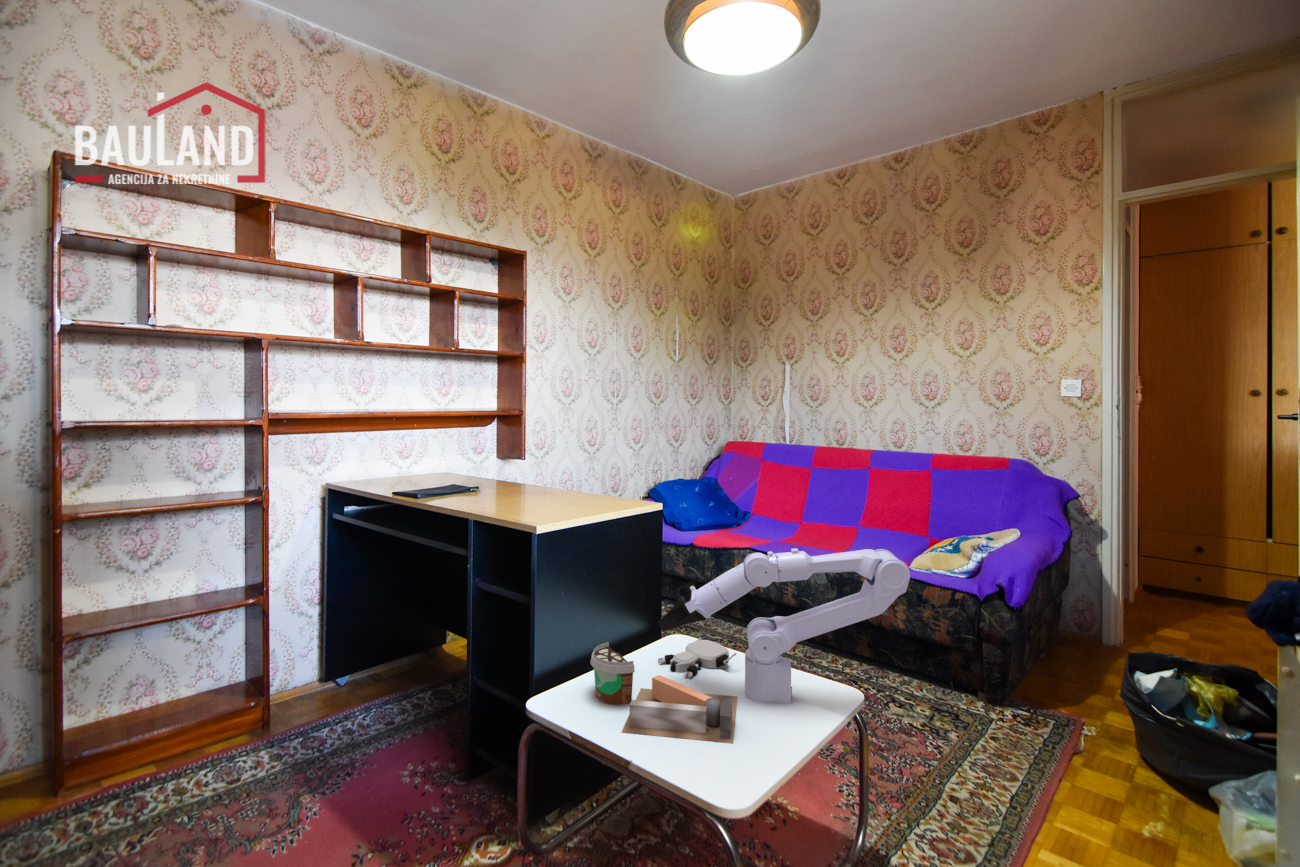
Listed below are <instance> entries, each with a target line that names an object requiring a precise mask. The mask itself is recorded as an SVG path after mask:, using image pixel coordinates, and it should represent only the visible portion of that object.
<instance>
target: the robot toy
mask: <svg viewBox="0 0 1300 867" xmlns="http://www.w3.org/2000/svg"><path fill="white" fill-rule="evenodd" d="M736 655H737V652H734V653H733V654H732V655H731V656H730V652H729V650H728V648H726V647H725V646H724V645H722V644H720V643H718V642H715V641H713V640H708V639H702V637H699V638H698V639H696V641H693V642H691V643H688V644H687V645H686V647H685V651H682V652H679V653H676V654H672V653H671V654H664V657H659V658H658V659H657V661H658V663H659V664H666V665H670V669H669V670H670V671H671V672H674V673H675V672H676V673H679V674H680V673H684V677H686V678H690V679H691V678H693V677H695V676H696V675H698V669H701V668H705V669H714V670H715V669H720V668H721V667H723V666H725V665H728V663H729V661H730V660H731V659H732V658H733V657H735V656H736Z"/></svg>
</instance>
